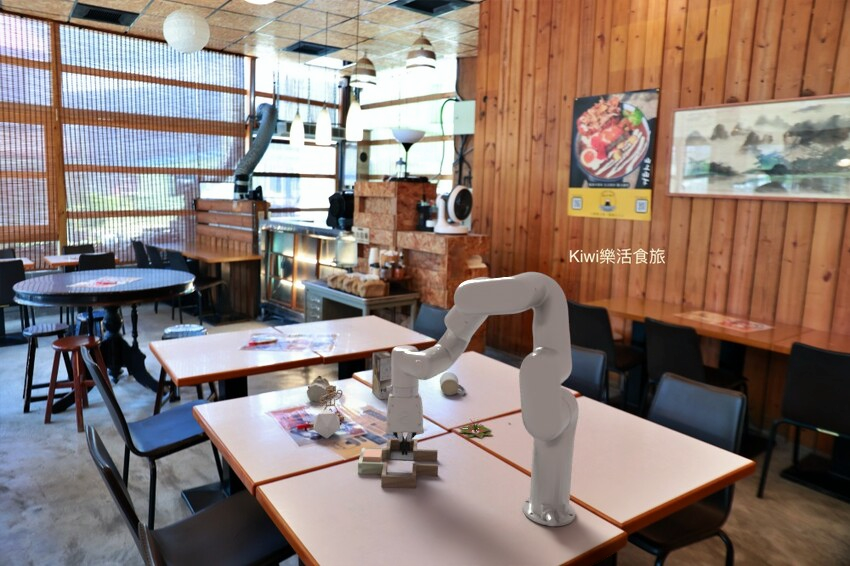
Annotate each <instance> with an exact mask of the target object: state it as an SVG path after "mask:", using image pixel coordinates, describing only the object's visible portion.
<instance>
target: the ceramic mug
mask: <svg viewBox="0 0 850 566" xmlns="http://www.w3.org/2000/svg"><path fill="white" fill-rule="evenodd" d="M439 384H440V389H441V392H442V394H444V395H446V396H454V395H455V394H456V393H457V394H459V395H465V394H466V391H467V390H466V388H465V387H464V386H462V385H461V384H459V378H458V376H457V374H455V373H453V372H443V374H441V375H440V378H439Z"/></svg>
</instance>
